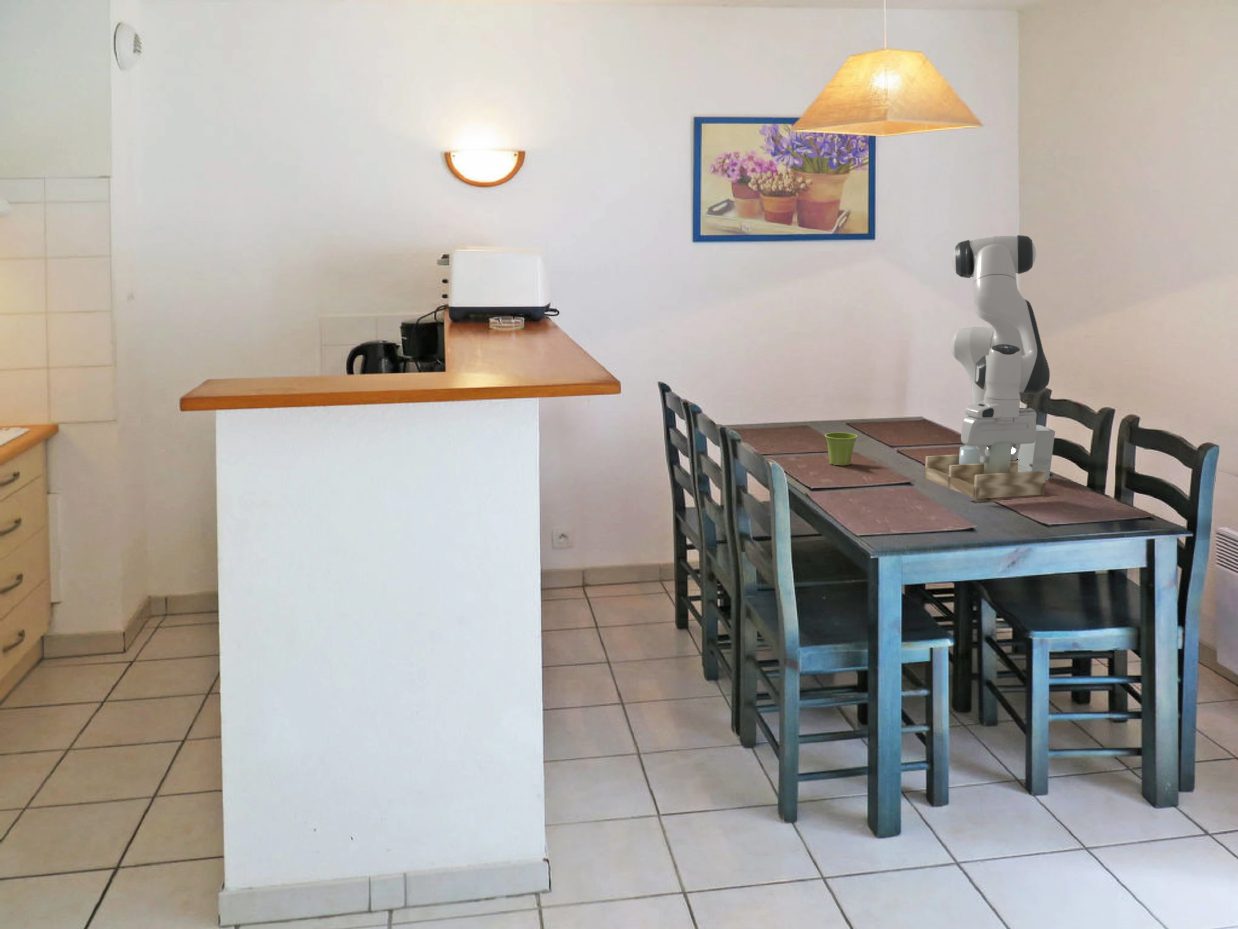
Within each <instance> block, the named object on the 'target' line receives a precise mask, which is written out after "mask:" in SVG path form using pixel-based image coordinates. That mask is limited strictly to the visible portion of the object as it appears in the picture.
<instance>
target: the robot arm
mask: <svg viewBox="0 0 1238 929" xmlns="http://www.w3.org/2000/svg"><path fill="white" fill-rule="evenodd" d="M1036 257H1037V250H1036V246H1035V244H1034V242H1033V239H1032V238H1030V237H1029V236H1027V235H1020V234H1019V235H1018V234H1017V235H1015V236H1014V235H996V236H991V237H984V238H976V239H974V240H970V239H967V240H963V241H960V242H958V243H957V244H956V245H955V248H954V250H953V252H952V258H951V261H952V267H953V269H954V270H955V274H956V275H958V276H959V277H960V278H964V279H965V278H966V279H970V278H973V283H972V284H973V287H972V289H973V301H974V302H973V303H974V304H973V305H974V307H973V308H974V311H975V314H976V315H977V316H978V318H979V319H981V320H983V321H984V322H986V323H988V324H989V325H991V327H986V326H985V327H984V326H983V327H981V326H971V327H964V328H959V329H957V330H956V332H955V333H954V334H953V336H952V337H951V339H950V344H949V345H950V351H951V354H952V356H953V357H954V358H955V359H956V361H958V362H959V363H960V364H961V365H962V366H963V367H964V369H965V371H966V372H967V375H968V377H969V380H970V384H971V405H968V406H966V407H965V409H964V410H965V411H964V412H965V415H966V417H965V418H964V419H963V422H962V426H961V432H960V434H961V436H960V441H961V442H962V444H963V446H977V448H976V449H977V451H978V453H979V455H980V462H982V463H987V462H988V461H989V460H988V459H989V456H987V455H986V454H985V452H984V450H986V446H989V445H993V444H994V443H1003V442H1012V449H1011V461H1010V462H1014V461H1017V460H1016V458H1017V459H1018V452H1019V449H1020V444H1030V443H1034V442H1035V440H1036V438H1037V428H1036V425H1037V412H1036V410H1035V409H1033V407H1020V406H1021V393H1022V394H1028V395H1037V394H1039V393H1040V392H1042V391H1043V390H1045V388H1047V386H1049V382H1050V377H1051V372H1050V367H1049V363H1048V360H1047V358H1046V355H1045V352H1044V348H1043V344H1042V340H1041V336H1040V333H1039V332H1040V331H1039V328H1038V323H1037V321H1036V316H1035V315H1036V314H1035V312H1034V309H1033V306H1032V304H1031V303H1030V301H1029V300H1027V299H1025V298H1024V297H1023V296H1022V294H1021V293H1020V291H1019V289H1018V284H1017V274H1018V275H1021V274H1023V273H1027V272H1029V271H1030V270H1031V269H1032V268H1033V265H1034V263H1035V261H1036Z"/></svg>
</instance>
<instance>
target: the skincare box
mask: <svg viewBox="0 0 1238 929" xmlns="http://www.w3.org/2000/svg"><path fill="white" fill-rule="evenodd" d="M1036 428H1037V438H1036V440H1035V442H1034V443H1030V444H1020V449H1019V452H1018V460H1016V461H1017V462H1018V472H1029V471H1046V480H1048V479H1049V480H1050V474H1051V467H1052V459H1053V451H1054V442H1055V436H1056V431H1055V430H1054V429H1052V428H1049V427H1048V426H1044V425H1041V424H1036Z"/></svg>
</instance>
